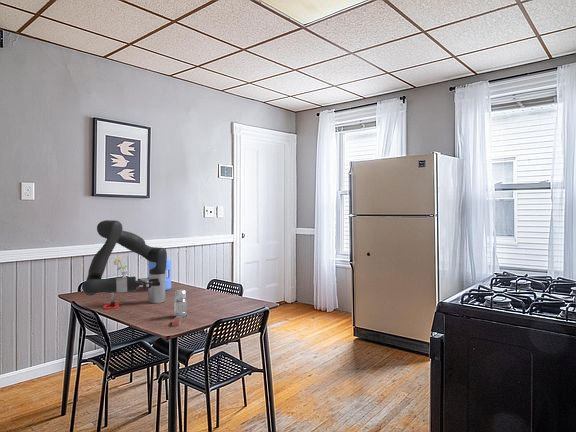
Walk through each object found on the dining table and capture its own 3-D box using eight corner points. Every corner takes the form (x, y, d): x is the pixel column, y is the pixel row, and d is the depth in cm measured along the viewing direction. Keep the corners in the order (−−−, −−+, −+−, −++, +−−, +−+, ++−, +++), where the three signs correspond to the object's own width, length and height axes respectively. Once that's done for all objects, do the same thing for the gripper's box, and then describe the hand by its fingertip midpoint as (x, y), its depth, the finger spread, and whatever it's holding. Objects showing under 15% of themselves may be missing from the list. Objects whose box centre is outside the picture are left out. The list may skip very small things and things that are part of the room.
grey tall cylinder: (175, 313, 218) (175, 292, 218) (174, 310, 223) (174, 290, 223) (186, 312, 220) (186, 291, 220) (185, 309, 225) (184, 289, 225)
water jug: (149, 292, 284) (149, 251, 283) (147, 288, 298) (147, 249, 298) (172, 290, 290) (172, 250, 290) (169, 286, 305) (169, 248, 304)
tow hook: (116, 309, 237) (120, 305, 246) (115, 287, 236) (120, 283, 245) (100, 310, 235) (105, 305, 245) (100, 287, 235) (105, 284, 244)
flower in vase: (126, 288, 296) (126, 253, 296) (136, 290, 290) (136, 254, 289) (109, 291, 286) (109, 255, 285) (119, 293, 279) (119, 256, 279)
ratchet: (182, 325, 203) (182, 312, 203) (168, 326, 202) (168, 312, 202) (187, 314, 225) (187, 301, 225) (175, 314, 224) (175, 302, 224)
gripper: (126, 279, 205) (160, 277, 211) (125, 274, 218) (158, 272, 224) (126, 294, 206) (160, 291, 212) (126, 288, 219) (158, 286, 225)
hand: (159, 281), depth 218 cm, fingers open, 8 cm apart
